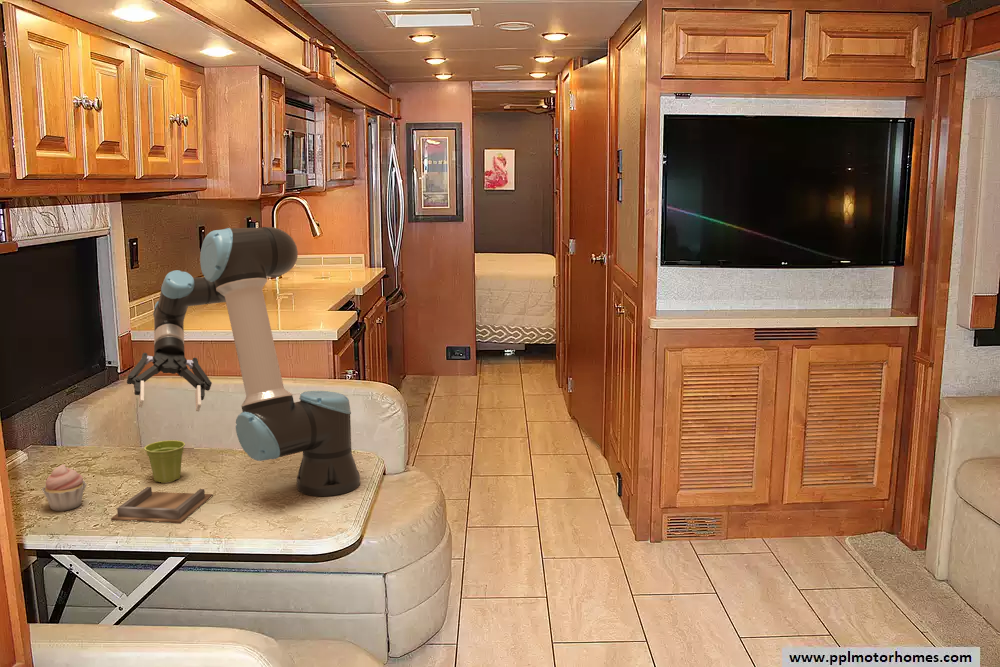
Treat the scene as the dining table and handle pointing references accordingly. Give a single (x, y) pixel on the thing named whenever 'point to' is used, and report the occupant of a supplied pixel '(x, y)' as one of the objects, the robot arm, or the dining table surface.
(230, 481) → the dining table surface
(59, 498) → the cupcake
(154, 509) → the keeper bracket
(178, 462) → the plant pot
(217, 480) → the dining table surface
